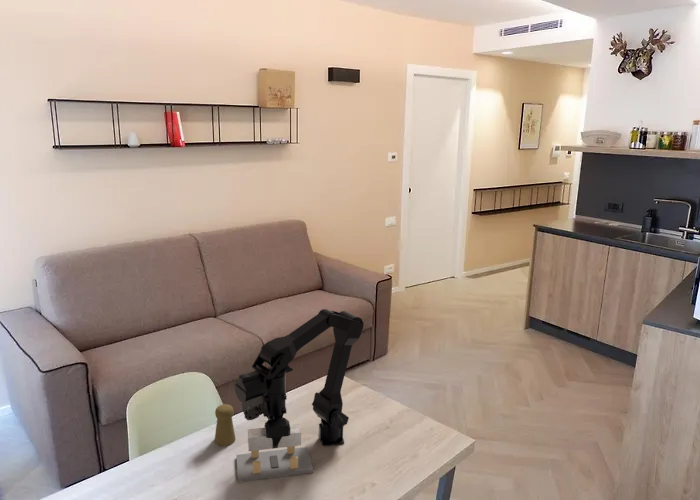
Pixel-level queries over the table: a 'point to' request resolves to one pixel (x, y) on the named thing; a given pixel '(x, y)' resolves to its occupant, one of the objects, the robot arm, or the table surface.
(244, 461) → the plate
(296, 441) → the air duct
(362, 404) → the table surface
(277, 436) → the robot arm
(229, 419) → the cork
